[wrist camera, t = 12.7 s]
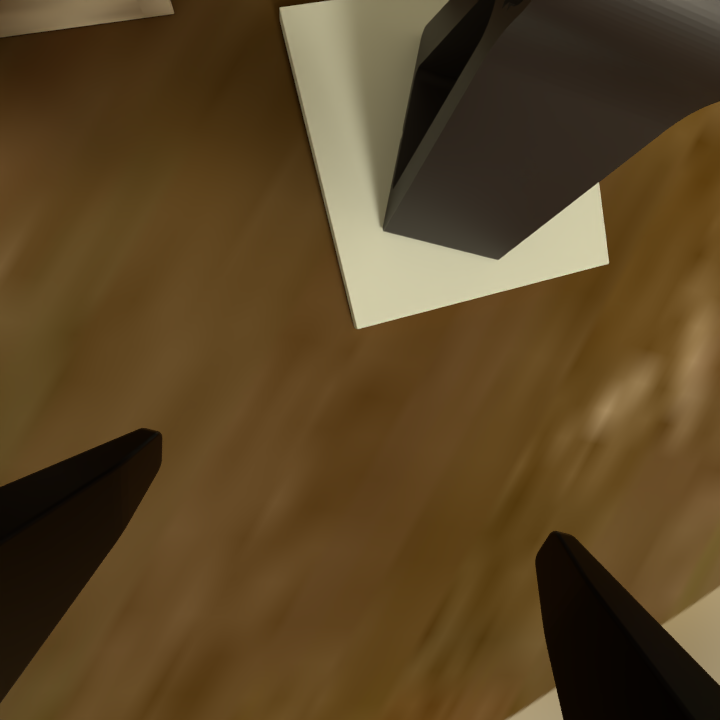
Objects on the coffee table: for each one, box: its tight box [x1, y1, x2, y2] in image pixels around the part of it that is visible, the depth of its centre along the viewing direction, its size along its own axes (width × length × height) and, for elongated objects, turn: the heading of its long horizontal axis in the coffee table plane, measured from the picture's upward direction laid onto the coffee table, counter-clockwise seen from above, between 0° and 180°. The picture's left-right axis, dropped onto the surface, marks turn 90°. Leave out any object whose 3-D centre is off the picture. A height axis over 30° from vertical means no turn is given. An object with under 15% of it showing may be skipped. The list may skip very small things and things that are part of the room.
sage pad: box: [279, 0, 609, 329], centre depth 20 cm, size 14×14×1 cm
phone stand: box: [383, 0, 720, 260], centre depth 14 cm, size 9×6×12 cm, turn 168°
